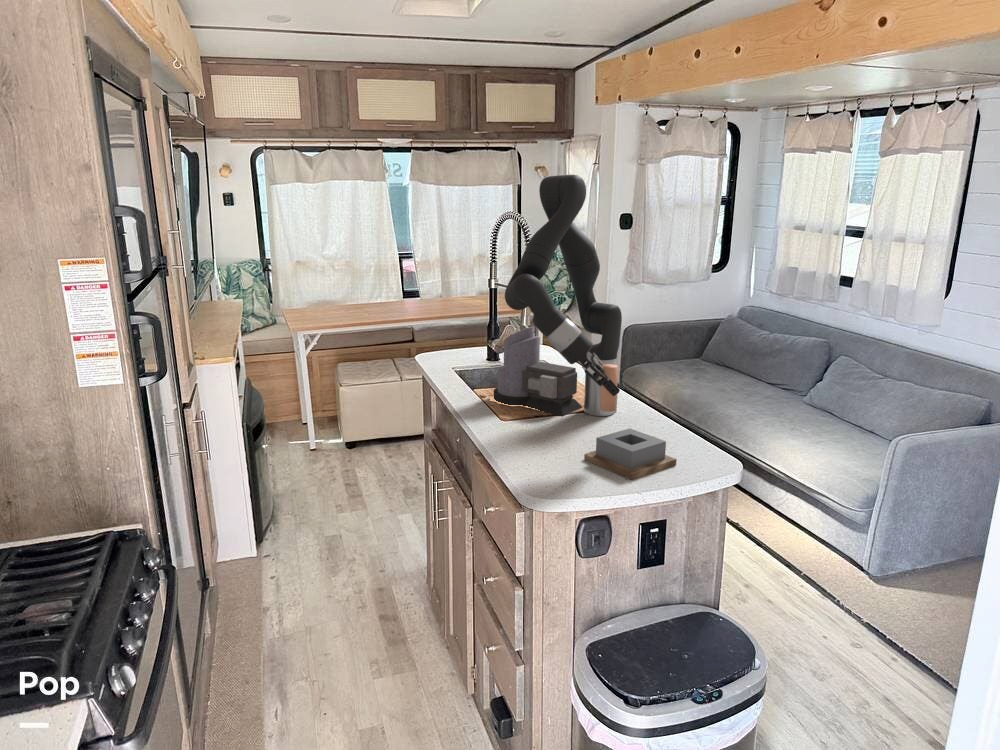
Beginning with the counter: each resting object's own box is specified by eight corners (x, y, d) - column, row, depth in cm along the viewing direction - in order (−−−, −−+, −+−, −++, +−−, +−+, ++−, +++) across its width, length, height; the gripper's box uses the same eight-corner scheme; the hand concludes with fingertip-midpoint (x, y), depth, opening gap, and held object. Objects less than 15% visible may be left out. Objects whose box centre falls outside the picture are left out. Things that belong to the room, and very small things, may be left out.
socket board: (628, 446, 189) (628, 441, 189) (676, 464, 177) (676, 459, 176) (584, 459, 180) (584, 453, 179) (631, 479, 167) (631, 473, 167)
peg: (607, 405, 180) (610, 363, 177) (619, 409, 177) (621, 366, 174) (596, 408, 178) (598, 365, 175) (607, 412, 175) (609, 369, 172)
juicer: (480, 400, 229) (480, 325, 223) (509, 389, 242) (510, 318, 235) (559, 418, 212) (561, 337, 206) (586, 406, 224) (589, 329, 218)
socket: (628, 444, 186) (629, 428, 185) (664, 458, 177) (666, 441, 176) (595, 454, 179) (596, 437, 178) (631, 469, 170) (632, 451, 169)
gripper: (578, 336, 167) (629, 389, 168) (581, 325, 180) (628, 373, 181) (555, 357, 169) (605, 409, 170) (560, 344, 182) (606, 392, 184)
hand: (616, 390), depth 176 cm, fingers closed on peg, 4 cm apart
